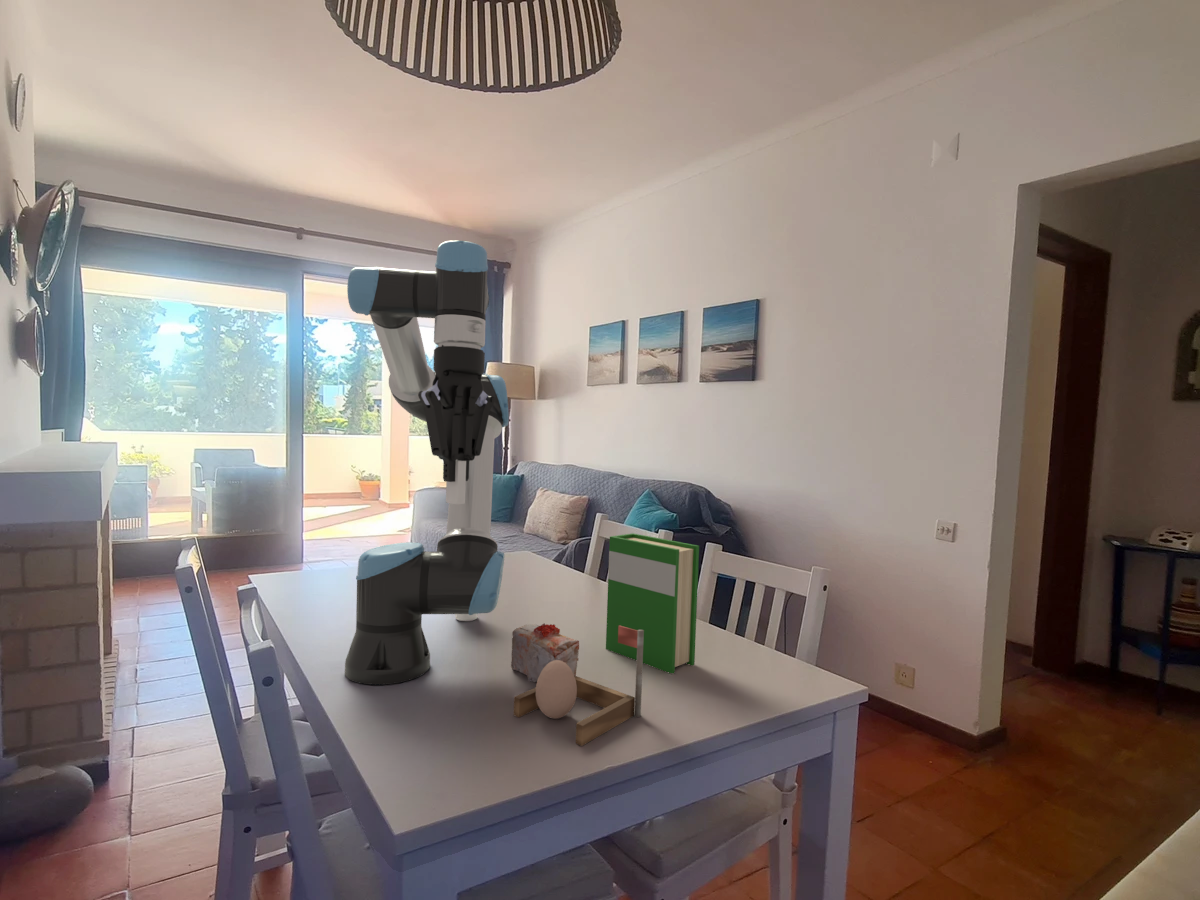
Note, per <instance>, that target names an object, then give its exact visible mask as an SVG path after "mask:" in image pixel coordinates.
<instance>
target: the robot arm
mask: <svg viewBox="0 0 1200 900" xmlns="http://www.w3.org/2000/svg"><path fill="white" fill-rule="evenodd" d="M436 250H437V251H436V261H435V271H427V270H413V269H402V268H400V269H399V268H388V267H379V266H374V267H373V266H372V267H371V266H370V267H367V266H366V267H363V266H357V267H354V268H352V269H351V270H350V271H349V275H348V278H347V279H348V280H347V300H348V306H349V307H350V309H351V311H352V312H354V313H355V314H359V315H365V316H370V319H371V321H372V325H373V327H374V330H375V334H376V336H377V339H378V342H379V345H380V349H381V350H382V353H383V357H384V359H385V362H386V365H387V369H388V372H389V375H388V376H389V377H388V387H389V390H390V392H391V395H392V397H393V398H394V400H395V401H396V403H398V405H399V406H400V407H402V408H403V409H404V410H405V411H406V412H407V413H409V414H410V415H412V416H414V417H415V418H417V419H419V420H420V421H423V422H425V423H426V428H427V432H428V438H429V444H430V450H431V453H432V455H433V456H436V457H438V459H439V460H442V461H443V463H442V464H443V465H442V466H443V467H442V470H443V471H442V479H443V481H444V482H446V483H445V485H446V486H445V487H446V488H445V489H446V490H445V503H447V504H448V510H447V511H448V512H447V520H446V521H447V523H446V534H445V535H443V536H442V537H441V538H440V539H439V540H438V542H437V545H436V551H435V550H434V551H425V547H424V545H423V543H421V542H413V541H409V542H408V541H407V542H406V541H405V542H398V543H397V542H396V543H391V544H385V545H380V546H376V547H373V548H371V549H368V550H366V551H364V552H363V553H362V554H360V556H359V558H358V562H357V574H356V577H355V579H356V615H355V617H356V618H355V619H356V620H355V621H356V623H355V633H354V635H353V638H352V641H351V644H350V646H349V649H348V653H347V655H346V658H345V661H344V676H345V677H346V678H347V679H348V680H349V681H352V682H354V681H355V682H354V683H358V682H360V683H359V684H362V683H364V684H363V685H371V684H375V686H376V684H379V685H378V686H381V685H380V684H382V686H383V685H393V684H400V683H403V682H407V681H411V680H413V679H417V678H418V677H421V676H422V675H424V674H425V673H427V671H429V669H430V667H431V653H430V649H429V647H428V643H427V640H426V637H425V634H424V630H423V627H422V619H423V618H422V615H455V614H469V615H473V614H478V615H481V614H488V613H492V612H493V611H494V610H495V609H496V607H497V604H498V603H499V597H500V592H501V591H500V590H501V587H502V580H503V572H504V565H505V556H506V555H505V553H504V552H503V551H501V550H498V545H499V544H498V543H497V541H496V540H495V539H494V538H493V537H492V536H491V526H492V525H491V524H492V508H493V506H492V505H493V503H492V502H493V483H494V482H493V477H494V455H495V454H494V453H495V439H497V437H499V436H500V435H501V433H502V431H503V428H505V427H508V426H509V416H510V415H509V402H508V401H509V400H508V391H507V385H506V380H505V379H504V378H503V377H502V376H501V375H496V374H488V373H485V363H486V362H485V361H486V360H485V358H486V355H485V353H486V352H485V351H484V350H483V349H482V348H484V347H485V345H486V323H487V322H486V321H487V320H486V316H487V315H486V314H487V311H488V309H489V306H490V292H489V290H488V269H489V265H488V251H487V250H486V248H485V247H484V246H483V245H480V244H478V243H475V242H472V241H466V240H446V241H444V242H442V243H440V244H438V246H437V249H436ZM418 318H421V319H424V318H425V319H434V326H433V328H434V333H433V342H434V344H435V345H436V346H437V347H435V349H433V369H432V368H431V367H430V366H429V365H428V361H427V360H428V359H427V355H426V351H425V347H424V343H423V338H422V334H421V330H420V324H419V321H418Z"/></svg>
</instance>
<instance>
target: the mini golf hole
mask: <svg viewBox="0 0 1200 900" xmlns="http://www.w3.org/2000/svg"><path fill="white" fill-rule="evenodd" d="M643 640H644V630H634V629H630V628H627V627H623V626H618V643H621V644H625V645H628V646H631V647H635V648H637V661H636V665H635V666H636V668H635V671H636V672H635V690H634V691H635V695H634V696H632V695H629V694H626V693H623V692H621V691H619V690H615V689H613V688H611V687H610V688H609V687H607V686H604V685H602V684H599V683H596V682H593V681H591V680H588V679H586V678H582V677H580V676H578V675H576V676H575V675H574V677H575V680H576V685H577V696H576V699H580V700H583V701H585V702H587V703H590V704H593V705H595V706H599V707H601V708H602V709H600V710H598V711H597V712H595V713H593V714H591V715H589V716H587V717H586V718H584V719H582V720H580V721H578V722H577V723H576V726H575V744H576V745H578V746H581V747H583V746H585V745H586V744H588V743H589V742H591V741H593V740H595V739H596V738H598V737H601V735H604V734H605V733H607V732H608V731H610V730H612V729H613V728H615V727H617V726H619V725H620V724H622V723H623V722H626V721H627V720H629V719H631V718H633V717H636V718H639V717H641V714H642V689H643V664H644V663H643ZM538 709H540V708H539V706H538V704H537V700H536V687H533V688H532V689H528V690H526V691H524V692H522V693H520V694H517V695H515V696H514V697H513V716H514V717H517V718H521V717H523V716H525V715H527V714H529V712H530V713H532V712H534V711H535V710H538ZM533 710H534V711H533ZM531 711H532V712H531Z"/></svg>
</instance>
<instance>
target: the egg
mask: <svg viewBox="0 0 1200 900" xmlns="http://www.w3.org/2000/svg"><path fill="white" fill-rule="evenodd" d="M535 688H536V700H537V704H538V706H539V708H538V709H539V710H540V712H542V713H543V714H544V715H545V716H546V717H548V718H550V719H552V720H553V719H561V718H563V717H565V716H567V715H568V714H569V713H570V711H571V710H572V709H573V707H574V706H575V703H576V700H577V697H576V696H577V685H576V680H575V677H574V674H573V672H572V670H571V669H570V667H569V666H568V665H567V664H566V663H565V662H563V661H560V660H554V661H552V662H550V663H548V664H547V665H546V666H545V667H544V668H543V670H542V671H541V673H540V675H539V678H538V680H537V681H536V684H535Z"/></svg>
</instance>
